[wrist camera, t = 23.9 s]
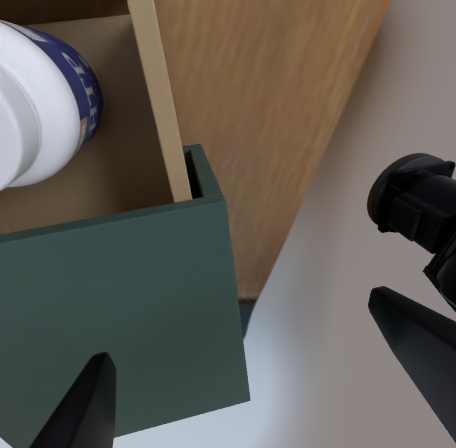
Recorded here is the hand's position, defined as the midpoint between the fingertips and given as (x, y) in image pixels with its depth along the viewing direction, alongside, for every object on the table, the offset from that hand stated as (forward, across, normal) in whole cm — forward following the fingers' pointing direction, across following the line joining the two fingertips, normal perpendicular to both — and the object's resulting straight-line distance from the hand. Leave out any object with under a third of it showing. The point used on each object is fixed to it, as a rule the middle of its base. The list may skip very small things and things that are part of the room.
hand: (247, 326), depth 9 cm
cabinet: (+13, +7, +5) cm, 16 cm away
